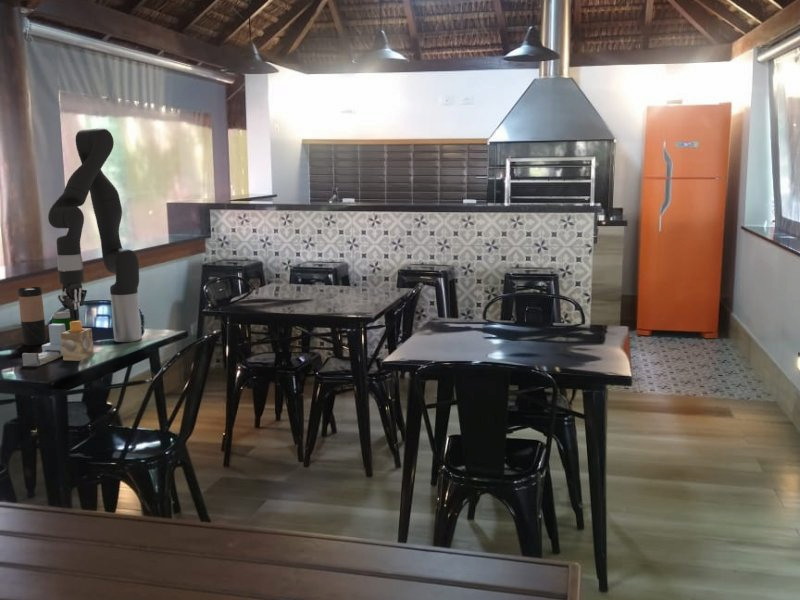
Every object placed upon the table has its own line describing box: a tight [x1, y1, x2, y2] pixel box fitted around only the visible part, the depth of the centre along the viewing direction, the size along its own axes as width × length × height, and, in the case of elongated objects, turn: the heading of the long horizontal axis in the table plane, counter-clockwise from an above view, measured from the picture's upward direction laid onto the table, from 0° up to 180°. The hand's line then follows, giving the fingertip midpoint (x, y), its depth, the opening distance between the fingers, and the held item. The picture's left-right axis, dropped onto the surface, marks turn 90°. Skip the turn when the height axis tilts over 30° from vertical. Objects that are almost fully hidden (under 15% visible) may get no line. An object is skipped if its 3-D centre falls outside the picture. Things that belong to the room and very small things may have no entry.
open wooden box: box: [61, 327, 95, 362], centre depth 250 cm, size 8×6×9 cm
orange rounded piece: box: [70, 320, 83, 333], centre depth 249 cm, size 4×4×5 cm
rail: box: [21, 350, 63, 368], centre depth 251 cm, size 23×5×4 cm, turn 170°
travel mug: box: [17, 286, 47, 346], centre depth 270 cm, size 8×8×20 cm
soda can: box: [51, 309, 72, 331], centre depth 268 cm, size 8×8×12 cm
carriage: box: [41, 323, 66, 355], centre depth 254 cm, size 7×8×10 cm
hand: (75, 320), depth 248 cm, fingers closed
